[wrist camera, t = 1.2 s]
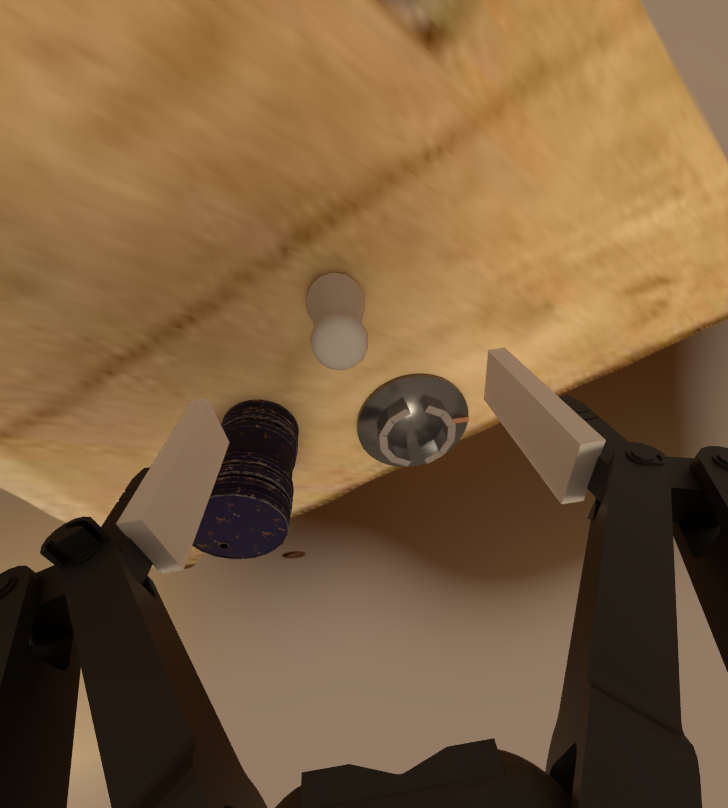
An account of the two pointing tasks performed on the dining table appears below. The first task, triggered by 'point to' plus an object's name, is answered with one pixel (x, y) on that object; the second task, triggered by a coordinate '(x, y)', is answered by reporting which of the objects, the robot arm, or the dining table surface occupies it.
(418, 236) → the dining table surface
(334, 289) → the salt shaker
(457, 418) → the socket
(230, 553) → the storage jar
